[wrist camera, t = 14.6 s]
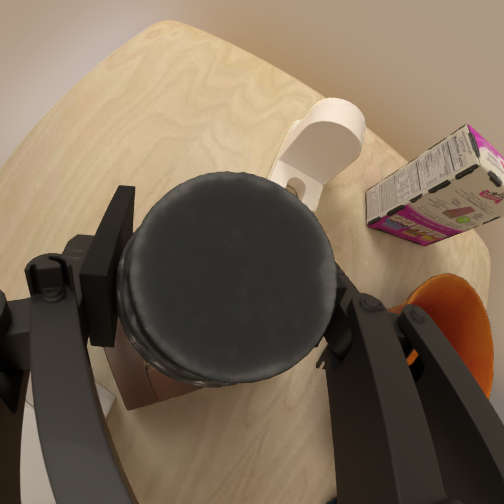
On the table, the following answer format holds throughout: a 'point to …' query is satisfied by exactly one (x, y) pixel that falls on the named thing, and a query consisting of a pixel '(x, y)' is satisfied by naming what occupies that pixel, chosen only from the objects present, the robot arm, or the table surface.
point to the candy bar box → (440, 191)
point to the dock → (140, 375)
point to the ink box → (31, 462)
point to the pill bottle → (226, 281)
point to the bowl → (458, 322)
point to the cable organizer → (319, 148)
